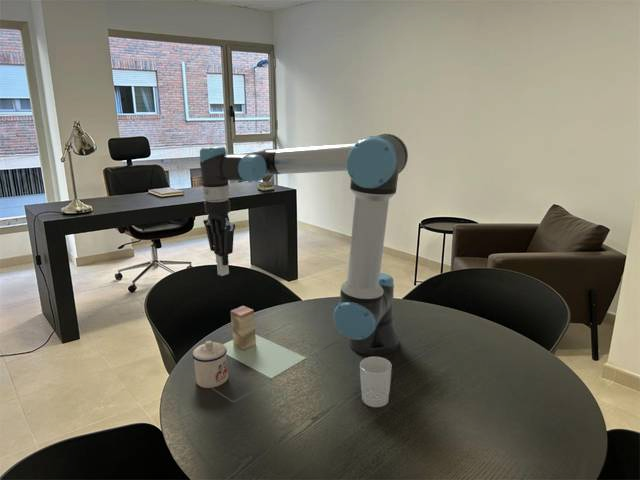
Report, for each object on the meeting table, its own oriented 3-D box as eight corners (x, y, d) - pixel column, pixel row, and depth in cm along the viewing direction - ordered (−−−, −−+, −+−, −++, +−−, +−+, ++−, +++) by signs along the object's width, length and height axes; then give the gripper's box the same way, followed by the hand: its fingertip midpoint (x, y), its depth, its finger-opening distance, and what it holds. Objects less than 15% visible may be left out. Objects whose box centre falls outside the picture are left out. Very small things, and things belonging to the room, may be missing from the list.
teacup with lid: (222, 390, 123) (218, 351, 119) (190, 388, 124) (185, 349, 121) (237, 366, 134) (234, 329, 131) (207, 364, 136) (203, 328, 132)
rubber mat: (306, 358, 137) (306, 357, 137) (271, 379, 127) (271, 378, 127) (249, 332, 154) (249, 331, 154) (214, 349, 144) (214, 348, 144)
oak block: (256, 344, 145) (253, 309, 142) (243, 351, 141) (240, 315, 138) (245, 340, 148) (243, 305, 145) (233, 346, 145) (230, 310, 141)
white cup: (370, 413, 112) (371, 376, 109) (353, 395, 119) (353, 361, 116) (397, 403, 116) (398, 367, 113) (379, 387, 122) (379, 353, 120)
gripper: (193, 199, 139) (200, 272, 146) (220, 204, 130) (227, 282, 137) (213, 195, 144) (220, 266, 151) (241, 200, 136) (246, 275, 142)
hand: (223, 274), depth 144 cm, fingers closed
